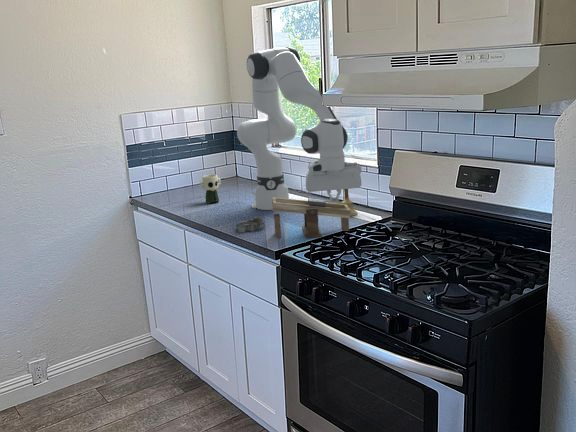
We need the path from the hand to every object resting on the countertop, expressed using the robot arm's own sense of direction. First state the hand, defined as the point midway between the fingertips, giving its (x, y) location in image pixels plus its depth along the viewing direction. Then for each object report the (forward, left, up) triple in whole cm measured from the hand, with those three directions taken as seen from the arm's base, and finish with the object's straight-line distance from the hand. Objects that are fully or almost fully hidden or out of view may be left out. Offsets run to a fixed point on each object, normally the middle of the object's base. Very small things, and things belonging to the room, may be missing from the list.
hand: (334, 201), depth 214 cm
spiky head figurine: (-65, -50, -11) cm, 83 cm away
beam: (0, -9, -2) cm, 9 cm away
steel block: (0, -7, -2) cm, 7 cm away
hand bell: (-23, +8, -11) cm, 27 cm away
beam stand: (0, -9, -11) cm, 14 cm away
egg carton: (-13, -32, -12) cm, 36 cm away
